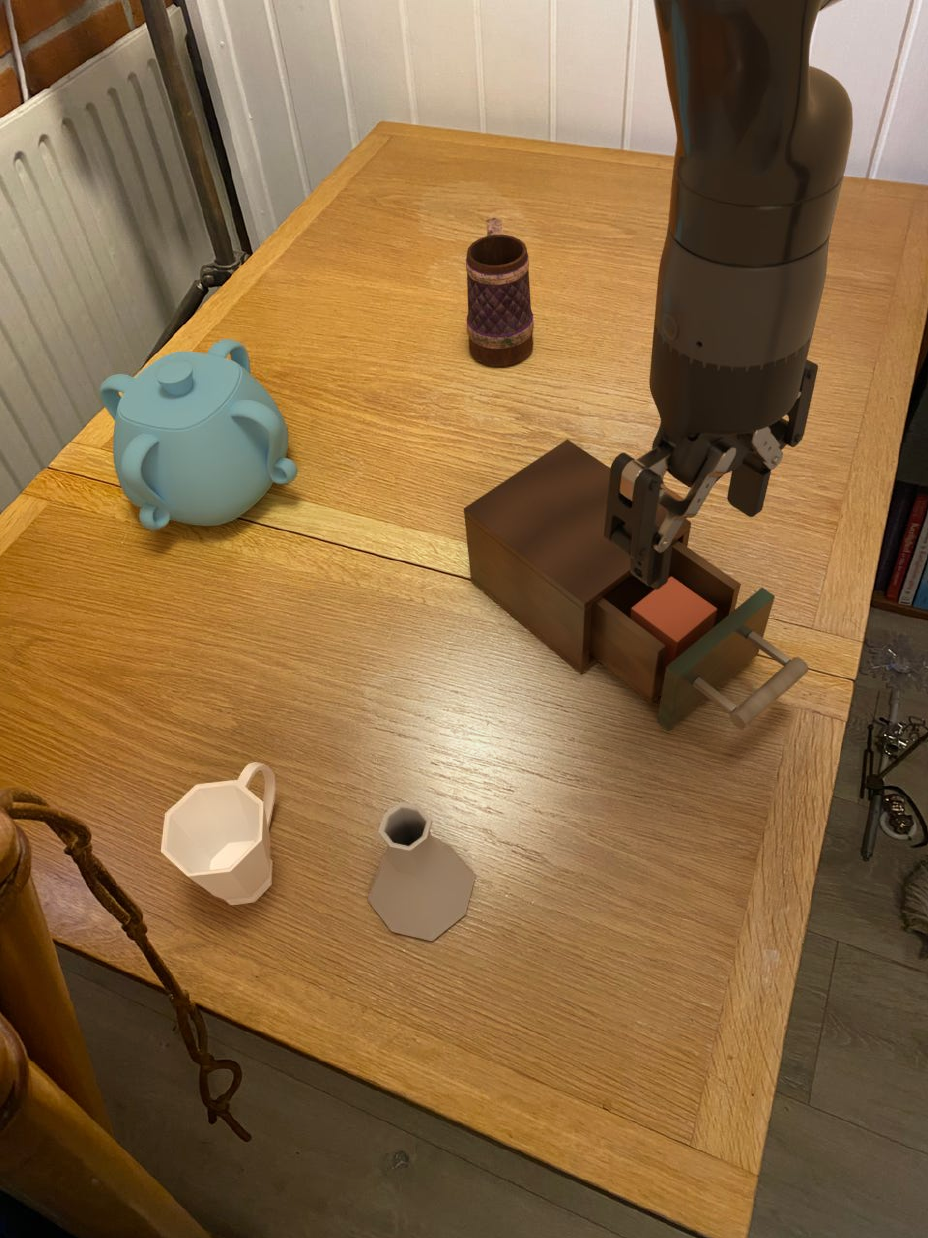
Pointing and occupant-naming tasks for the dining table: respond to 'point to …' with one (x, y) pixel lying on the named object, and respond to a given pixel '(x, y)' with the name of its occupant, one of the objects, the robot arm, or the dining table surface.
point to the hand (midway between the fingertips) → (697, 542)
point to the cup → (224, 836)
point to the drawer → (706, 659)
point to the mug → (499, 298)
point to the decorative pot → (196, 437)
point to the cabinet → (550, 548)
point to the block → (674, 618)
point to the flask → (418, 876)
